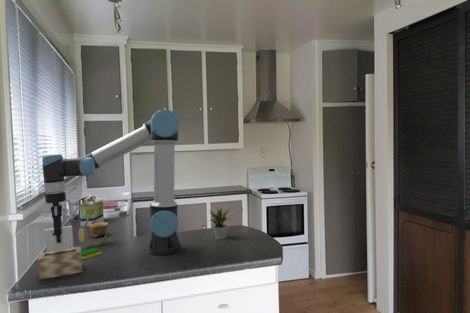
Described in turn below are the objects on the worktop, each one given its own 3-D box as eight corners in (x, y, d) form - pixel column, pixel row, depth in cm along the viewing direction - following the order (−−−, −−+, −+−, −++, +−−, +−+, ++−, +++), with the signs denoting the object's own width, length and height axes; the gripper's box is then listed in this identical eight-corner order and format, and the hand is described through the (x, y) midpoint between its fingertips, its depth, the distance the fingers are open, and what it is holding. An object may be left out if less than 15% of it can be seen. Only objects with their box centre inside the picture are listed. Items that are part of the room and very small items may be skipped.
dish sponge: (102, 254, 173) (101, 249, 173) (74, 263, 162) (73, 257, 162) (94, 252, 177) (93, 247, 177) (66, 260, 167) (65, 255, 167)
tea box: (95, 226, 236) (94, 203, 235) (80, 226, 236) (78, 204, 235) (104, 220, 251) (102, 199, 250) (89, 221, 251) (88, 200, 250)
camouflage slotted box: (81, 264, 158) (80, 246, 158) (82, 271, 148) (80, 252, 148) (41, 271, 152) (39, 252, 151) (39, 279, 142) (37, 259, 142)
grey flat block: (73, 246, 153) (71, 225, 153) (73, 248, 150) (71, 226, 150) (47, 250, 149) (45, 229, 149) (46, 252, 146) (44, 230, 146)
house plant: (240, 239, 183) (238, 207, 182) (213, 243, 178) (211, 210, 177) (230, 233, 196) (228, 203, 196) (205, 237, 192) (203, 206, 191)
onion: (92, 242, 206) (82, 228, 204) (100, 234, 215) (91, 220, 212) (105, 237, 203) (95, 222, 201) (113, 228, 212) (104, 214, 210)
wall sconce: (86, 250, 179) (82, 200, 178) (78, 247, 186) (74, 199, 185) (112, 244, 189) (109, 196, 188) (104, 241, 196) (100, 194, 195)
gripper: (46, 191, 155) (50, 245, 156) (43, 195, 140) (48, 256, 141) (65, 189, 158) (70, 243, 159) (64, 193, 143) (69, 252, 144)
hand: (59, 249), depth 150 cm, fingers closed on grey flat block, 3 cm apart
